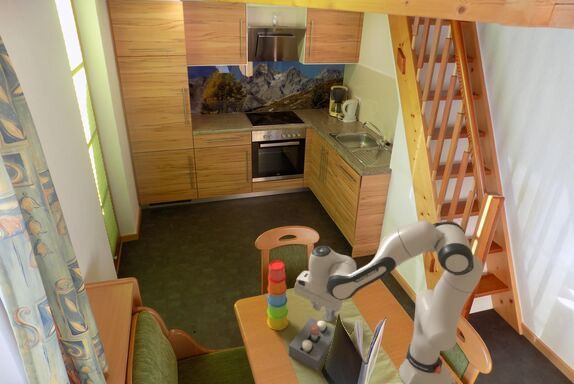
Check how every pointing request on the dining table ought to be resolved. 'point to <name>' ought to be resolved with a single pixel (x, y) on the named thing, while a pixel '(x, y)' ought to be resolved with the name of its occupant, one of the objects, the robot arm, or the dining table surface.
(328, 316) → the beer glass
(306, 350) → the knob
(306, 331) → the console
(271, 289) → the stacking cups
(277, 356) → the dining table surface
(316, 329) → the knob mid
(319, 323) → the knob
